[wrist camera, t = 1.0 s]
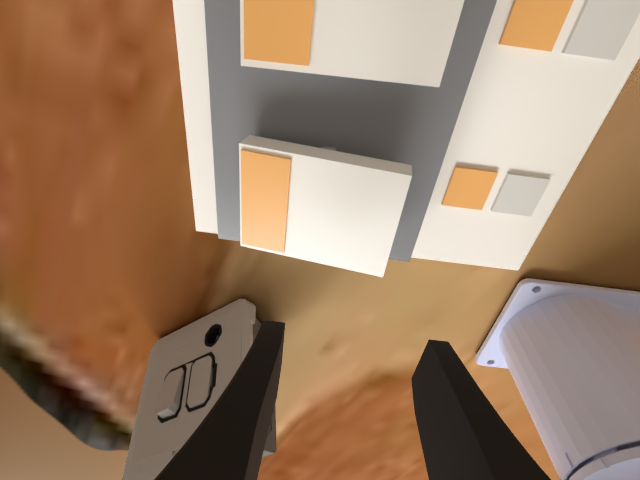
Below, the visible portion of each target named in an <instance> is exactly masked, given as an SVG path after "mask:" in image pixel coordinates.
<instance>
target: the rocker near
mask: <svg viewBox="0 0 640 480" xmlns="http://www.w3.org/2000/svg"><path fill="white" fill-rule="evenodd" d="M464 1H465V0H240V46H241V66H247V67H257V68H266V69H275V70H284V71H293V72H303V73H312V74H321V75H330V76H339V77H349V78H358V79H367V80H376V81H385V82H395V83H404V84H413V85H422V86H431V87H439V86H440V83H441V80H442V76H443V73H444V69H445V66H446V62H447V59H448V55H449V52H450V49H451V45H452V42H453V38H454V35H455V31H456V28H457V25H458V21H459V18H460V14H461V11H462V7H463V4H464Z"/></svg>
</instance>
